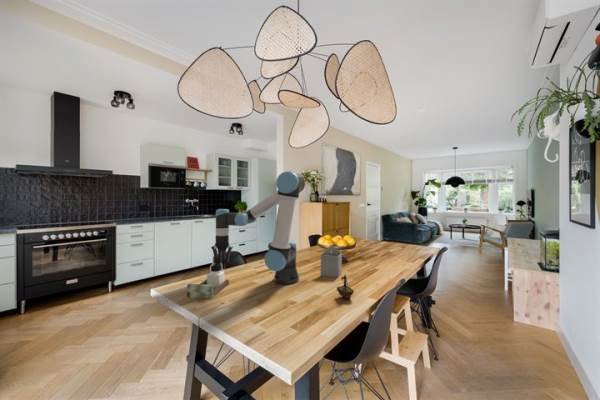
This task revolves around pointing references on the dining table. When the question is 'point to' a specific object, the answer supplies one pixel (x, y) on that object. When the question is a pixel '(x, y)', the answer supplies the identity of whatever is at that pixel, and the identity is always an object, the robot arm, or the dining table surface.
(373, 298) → the dining table surface
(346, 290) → the figurine
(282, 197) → the robot arm
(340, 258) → the grey box
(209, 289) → the guide channel
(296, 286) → the dining table surface
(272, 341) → the dining table surface
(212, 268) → the medicine bottle
